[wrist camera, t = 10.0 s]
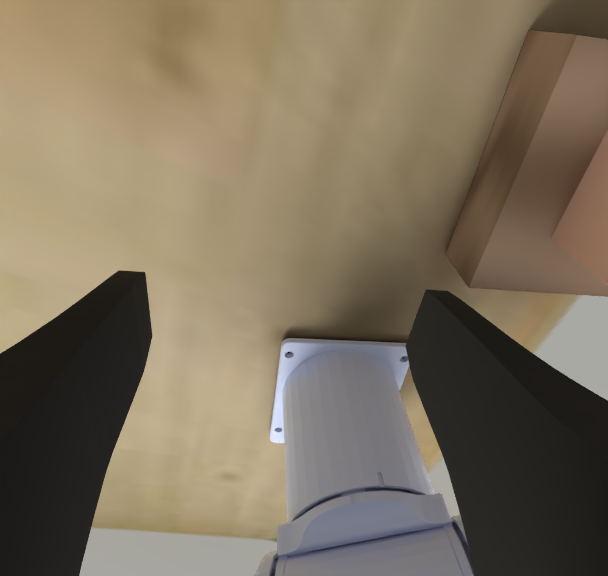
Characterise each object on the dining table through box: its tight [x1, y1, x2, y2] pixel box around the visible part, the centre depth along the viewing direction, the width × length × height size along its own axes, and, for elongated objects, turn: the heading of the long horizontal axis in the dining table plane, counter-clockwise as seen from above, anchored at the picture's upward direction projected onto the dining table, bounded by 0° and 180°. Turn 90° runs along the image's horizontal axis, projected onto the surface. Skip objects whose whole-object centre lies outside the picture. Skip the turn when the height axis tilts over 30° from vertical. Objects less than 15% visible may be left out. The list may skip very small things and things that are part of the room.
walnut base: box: [446, 30, 608, 296], centre depth 18 cm, size 10×10×3 cm
